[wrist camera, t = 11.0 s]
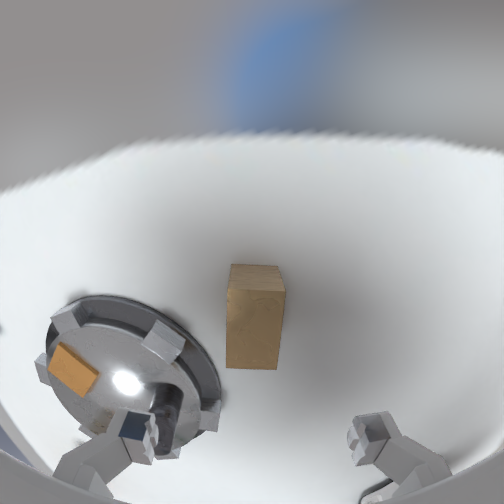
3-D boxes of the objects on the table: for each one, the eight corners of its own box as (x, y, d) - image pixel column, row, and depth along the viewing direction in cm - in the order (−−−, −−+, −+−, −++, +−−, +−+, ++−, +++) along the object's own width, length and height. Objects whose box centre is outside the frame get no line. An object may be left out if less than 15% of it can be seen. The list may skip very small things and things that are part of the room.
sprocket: (258, 384, 24) (262, 456, 16) (157, 462, 27) (145, 511, 20) (84, 259, 20) (24, 298, 13) (34, 379, 24) (1, 419, 16)
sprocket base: (221, 447, 28) (220, 453, 27) (76, 420, 27) (73, 425, 26) (220, 305, 23) (219, 310, 22) (33, 285, 22) (28, 289, 21)
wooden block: (271, 333, 24) (276, 369, 19) (229, 331, 24) (225, 368, 19) (277, 265, 22) (285, 291, 18) (231, 263, 22) (227, 288, 17)
